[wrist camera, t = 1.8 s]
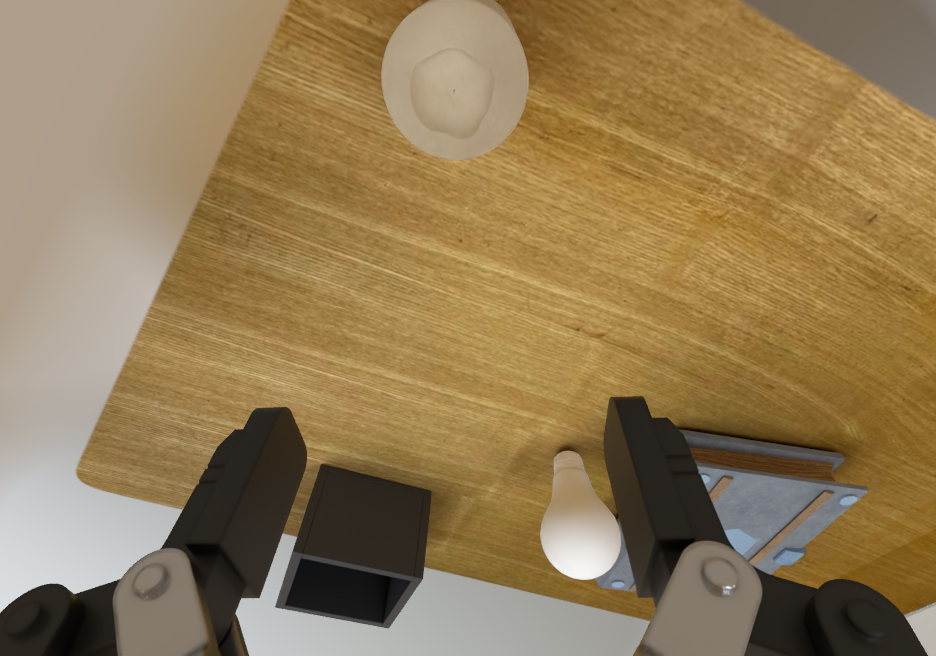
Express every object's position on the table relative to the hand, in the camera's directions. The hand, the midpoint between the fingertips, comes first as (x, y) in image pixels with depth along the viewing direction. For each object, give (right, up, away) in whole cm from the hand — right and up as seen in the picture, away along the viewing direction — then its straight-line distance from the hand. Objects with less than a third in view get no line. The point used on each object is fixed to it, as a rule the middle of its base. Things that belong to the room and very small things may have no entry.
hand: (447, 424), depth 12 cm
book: (+24, -15, +36) cm, 46 cm away
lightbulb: (+9, -9, +32) cm, 34 cm away
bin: (-10, -16, +38) cm, 42 cm away
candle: (0, +17, +13) cm, 21 cm away
